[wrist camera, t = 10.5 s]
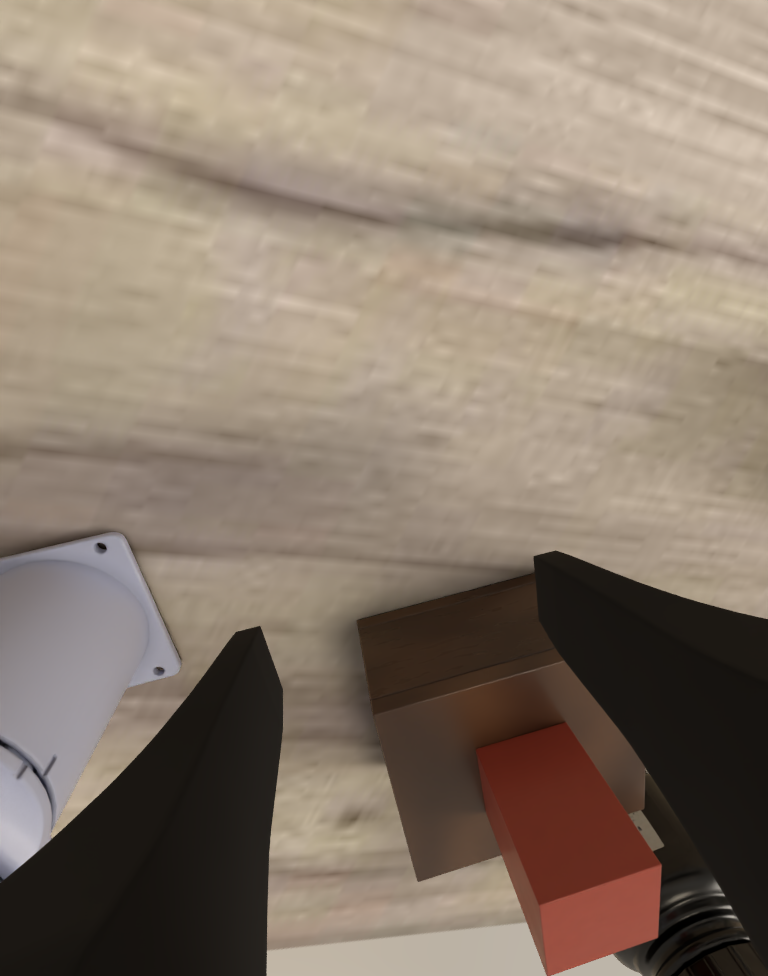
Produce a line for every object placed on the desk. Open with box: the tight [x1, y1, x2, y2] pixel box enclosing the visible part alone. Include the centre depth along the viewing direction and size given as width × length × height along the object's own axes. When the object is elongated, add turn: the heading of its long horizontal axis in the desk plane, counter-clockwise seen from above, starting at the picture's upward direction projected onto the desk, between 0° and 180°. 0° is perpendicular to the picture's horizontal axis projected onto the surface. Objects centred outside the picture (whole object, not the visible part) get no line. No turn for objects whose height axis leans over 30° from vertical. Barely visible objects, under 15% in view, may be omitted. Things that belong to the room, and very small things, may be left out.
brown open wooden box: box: [357, 573, 645, 882], centre depth 23 cm, size 12×11×6 cm
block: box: [476, 722, 662, 976], centre depth 17 cm, size 4×4×6 cm
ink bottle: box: [613, 773, 768, 976], centre depth 26 cm, size 10×9×12 cm
